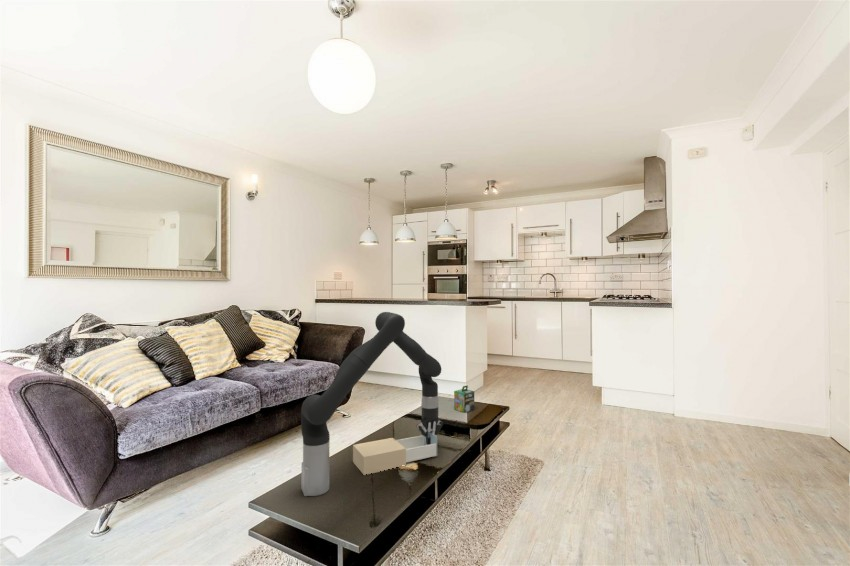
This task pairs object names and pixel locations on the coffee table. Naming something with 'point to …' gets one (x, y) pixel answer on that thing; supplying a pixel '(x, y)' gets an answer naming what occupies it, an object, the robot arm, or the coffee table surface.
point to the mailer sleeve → (378, 455)
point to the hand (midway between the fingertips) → (430, 444)
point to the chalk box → (464, 400)
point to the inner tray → (419, 447)
